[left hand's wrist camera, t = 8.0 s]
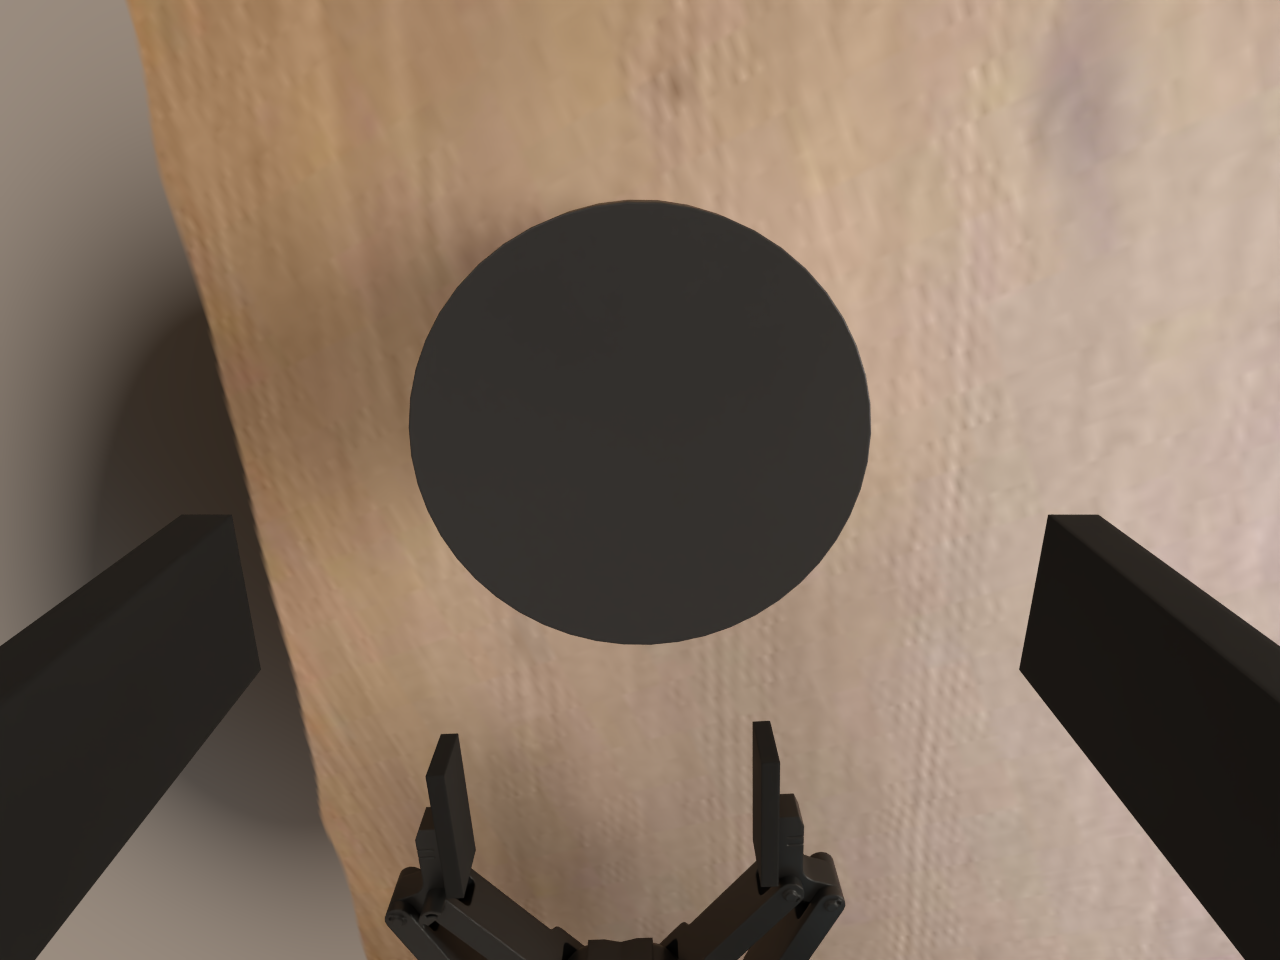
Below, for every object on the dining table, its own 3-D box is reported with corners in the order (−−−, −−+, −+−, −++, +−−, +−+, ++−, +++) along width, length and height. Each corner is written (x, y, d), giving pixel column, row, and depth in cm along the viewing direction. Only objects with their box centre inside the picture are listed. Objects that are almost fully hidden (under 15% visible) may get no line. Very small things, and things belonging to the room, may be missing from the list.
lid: (361, 283, 21) (329, 294, 19) (790, 135, 19) (808, 129, 17) (519, 647, 24) (508, 691, 22) (888, 542, 23) (913, 578, 21)
